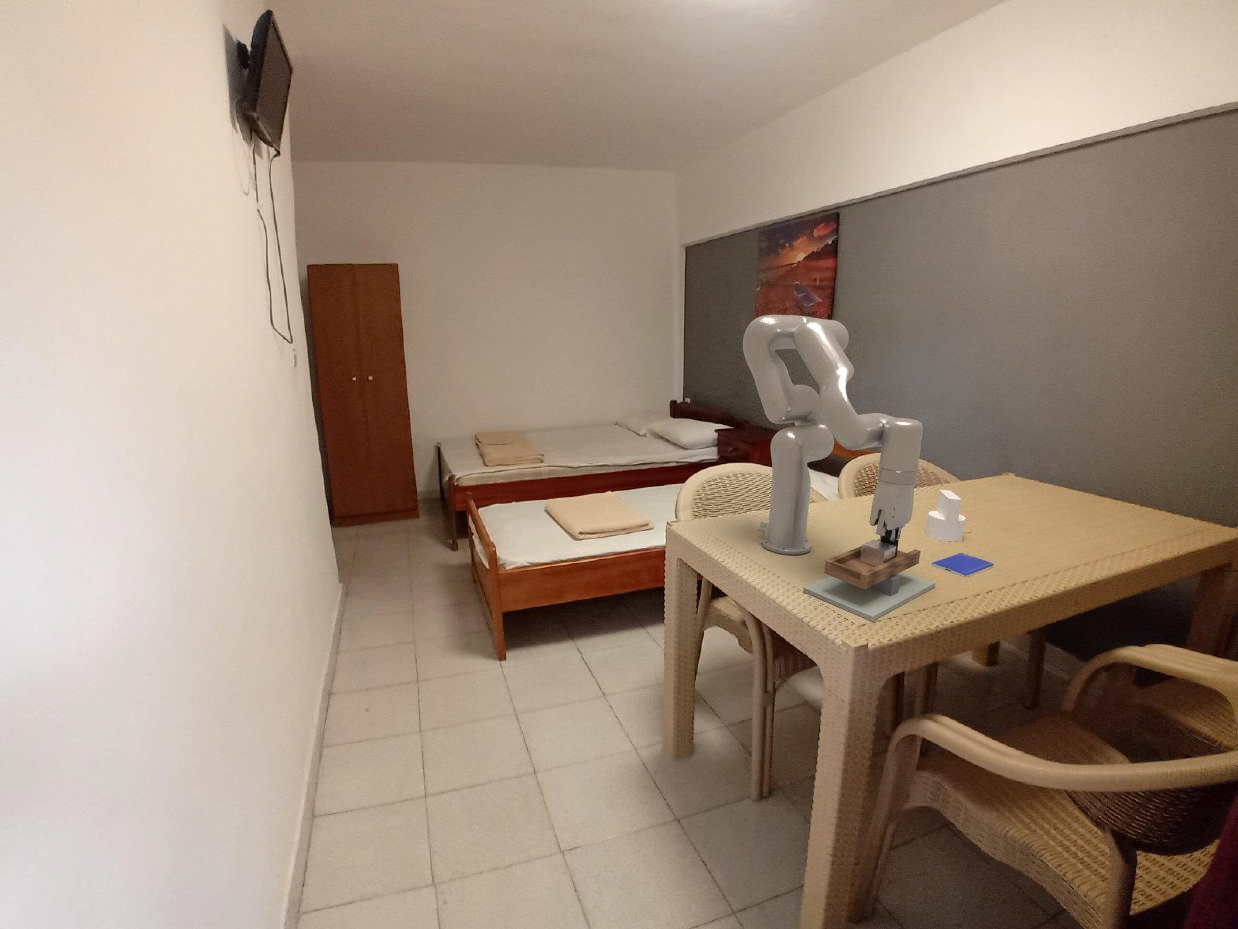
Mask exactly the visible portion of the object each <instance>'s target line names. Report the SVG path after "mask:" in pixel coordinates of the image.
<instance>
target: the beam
mask: <svg viewBox="0 0 1238 929" xmlns="http://www.w3.org/2000/svg"><path fill="white" fill-rule="evenodd" d="M877 540H878V541H881V538H878V539H877ZM861 551H862V545H861V546H857V547H855V548H853V549H851V550H848V551H846V552H843V553H841V554H838V555H836V556H833V557H831V558H828V559H825V560H824V571H823V574H824V575H826V576H828V577H830V576H832V577H834V578H837V579H839V580H842V581H845V582H847V583H850V584H852V585H855V586H857V587H860V588H863V589H867V588H869V587H871V586H873V585H875V584H877V583H879V582H881V581H883V580H885V579H887V578H890V577H892V576H894V575H896V574H898V573H900V572H905V571H906V570H908V569H911V568H912V567H914V566H915V567H916V565H918V564H919V563H920V556H921V550H919V549H916V548H915V549H912V550H910V551H908V552H904V551H901V550H897V556H896V557H895V559H892V560H890V561H888V562H886V563H883V564H881V565H879V566H877V567H874V566H871V565H868V564H866V563H863V562H860V559H861Z"/></svg>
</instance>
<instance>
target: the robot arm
mask: <svg viewBox="0 0 1238 929" xmlns="http://www.w3.org/2000/svg"><path fill="white" fill-rule="evenodd" d="M849 340H850V337H849V331H848V329H847V328H846V326H845V325H844V324H843V323H841V322H840V321H837V320H836V319H835V320H833V319H824V318H818V317H812V316H811V317H810V316H805V315H804V316H803V315H794V314H793V315H792V314H791V315H789V314H787V315H786V314H767V315H766V314H765V315H762V316H758V317H756V318H754V319H753V320H752V321H751V322H749V324H748V326H747V327H746V329H745V332H744V334H743V338H742V350H743V355H744V358H745V361H746V364H747V366H748V368H749V370H750V372H751V374H752V377H753V380H754V383H755V387H756V389H757V393H758V396H759V399H760V402H761V404H762V408H763V411H764V414H765V416H766V418H767V419H768V421H770V422H771V423H774V424H776V425H777V424H778V425H779V424H780V425H781V424H790V423H794V425H795V426H789V427H784V428H783V429H780V430H779V431H777V432H776V433H775V435H774V436H773V437H772V438H771V442H770V456H771V464H772V465H771V467H772V469H771V470H772V473H771V488H770V490H771V491H770V501H769V502H770V503H769V504H770V506H769V515H768V516H769V517H768V522H765V521H760V522H759V525H758V527H757V531H758V532H762V533H764V535H763V537H762V538H761V542H760V543H761V546H762V547H763V548H765V549H767V550H768V551H770V552H773V553H777V554H782V555H791V556H793V555H794V556H796V555H804V554H806V553H809V552H810V551H811V550H812V543H811V542H810V540H808V539H806V537H807V529H808V527H807V526H808V516H809V506H810V497H811V496H810V495H811V484H812V483H811V479H812V478H811V474H810V471H809V467H808V463H811V462H816V461H820V460H822V459H826V458H827V457H828V456H830V455H831V453H832V452H833V450H834V446H835V441H836V442H838V444H839V445H840V446H842V447H843V448H844V449H846V450H848V451H849V450H851V451H859V450H864V449H869V448H876V447H877V448H878V447H881V448H880V456H879V466H878V467H879V468H878V473H877V474H878V475H877V484H876V486H875V491H874V494H873V497H872V498H873V499H872V505H871V509H870V516H869V525H870V526H873V527H875V526H877V527H876V531H875V534H876V535H878V536H880V538H881V542H884V543H888V544H891V545H894V546H896V552H895V557H896V556H897V550H898V547H899V541H900V538H901V534H902V530H903V529H904V527H906V525H907V524H909V523H910V522H911V520H912V516H913V507H914V498H915V497H914V495H915V494H914V493H915V486H916V485H917V479H918V478H917V477H918V472H919V471H918V470H919V463H920V455H921V448H922V441H923V440H922V439H923V438H922V437H923V431H924V426H923V424H922V422H921V421H919V420H917V419H915V418H914V419H913V418H904V417H895V416H892V415H889V414H885V413H881V412H872V413H871V412H870V413H862V414H858V413H857V411H856V410H855V408H854V407H853V406H852V404H851V402H850V400H849V397H848V395H847V383H848V382H849V381H850V380H851V379H852V377H853V376H854V374H855V367H854V365H853V364H852V363H851V361H850V359H849V358H848V357H847V355H846V353H845V350H846V348H847V347H848V345H849ZM776 350H796V351H797V353H798V354H799V355H800V357H801V360H803V363H804V364H805V366H806V368H807V369H808V370H809V373H810V374H811V376H812V377H813V379H814V380H815V382H816V384H817V386H818V388H819V394H818V392H817V391H816V390H815V389H814V388H813V387H811V386H809V385H806V384H793V382H792V379H791V377H790V374H789V372H788V368H787V366H786V364H785V362H784V361H783V360H782V358H781V357H780V356H779V355H778V354H777V352H776ZM880 538H879V539H880Z"/></svg>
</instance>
